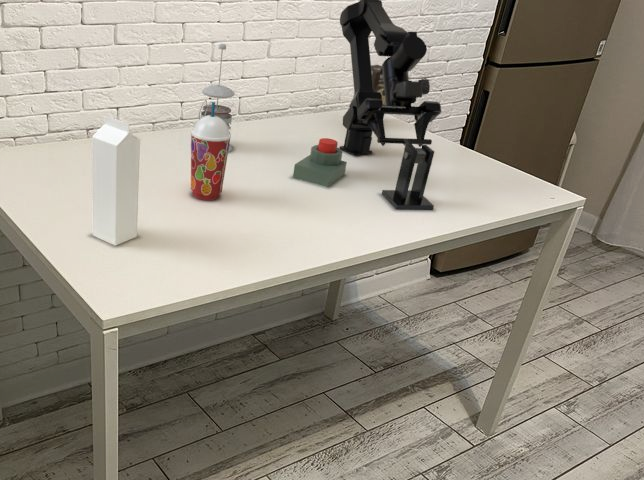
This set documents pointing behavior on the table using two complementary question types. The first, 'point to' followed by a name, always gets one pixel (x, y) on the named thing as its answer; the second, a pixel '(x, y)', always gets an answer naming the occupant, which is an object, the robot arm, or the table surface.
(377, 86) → the coffee box
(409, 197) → the black stand
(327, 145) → the button
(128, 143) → the milk
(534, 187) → the table surface
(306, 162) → the control block
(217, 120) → the smoothie
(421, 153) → the lever
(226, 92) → the french press
